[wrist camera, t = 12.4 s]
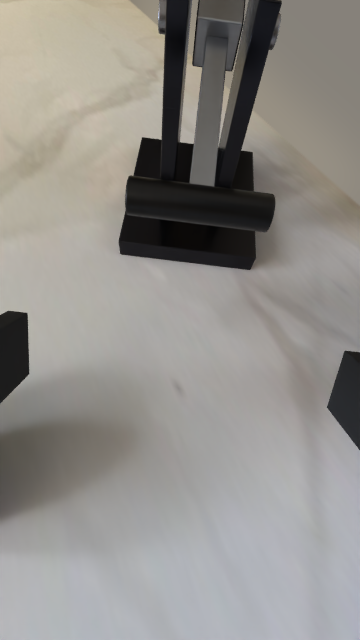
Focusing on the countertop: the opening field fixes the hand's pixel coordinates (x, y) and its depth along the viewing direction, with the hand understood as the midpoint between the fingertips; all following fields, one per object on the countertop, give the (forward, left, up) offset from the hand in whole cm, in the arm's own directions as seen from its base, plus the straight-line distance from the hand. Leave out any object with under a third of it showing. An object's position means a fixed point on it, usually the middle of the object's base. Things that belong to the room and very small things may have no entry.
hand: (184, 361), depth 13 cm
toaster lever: (0, -12, +2) cm, 13 cm away
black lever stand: (0, -16, -7) cm, 18 cm away
